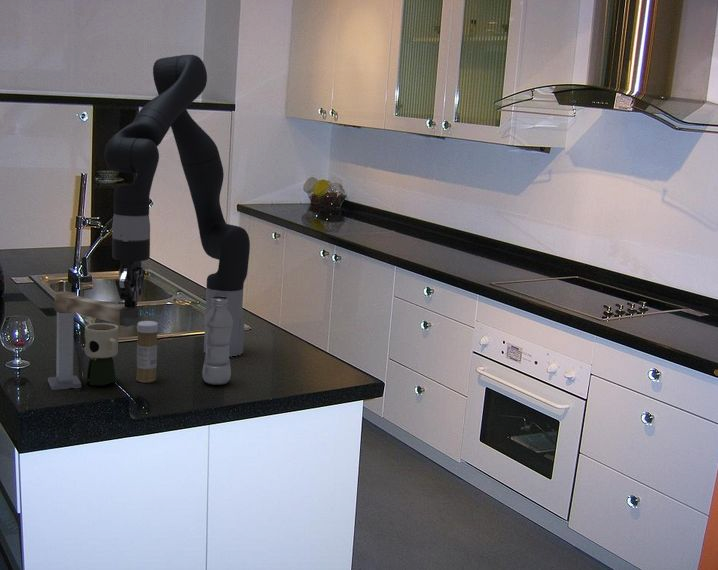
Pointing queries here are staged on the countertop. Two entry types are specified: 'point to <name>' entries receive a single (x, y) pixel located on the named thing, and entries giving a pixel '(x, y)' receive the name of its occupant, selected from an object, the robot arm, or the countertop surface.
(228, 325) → the plastic bottle
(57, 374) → the post
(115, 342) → the character mug
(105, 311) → the swing arm
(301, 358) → the countertop surface
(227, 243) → the robot arm
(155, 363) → the sprinkles bottle
